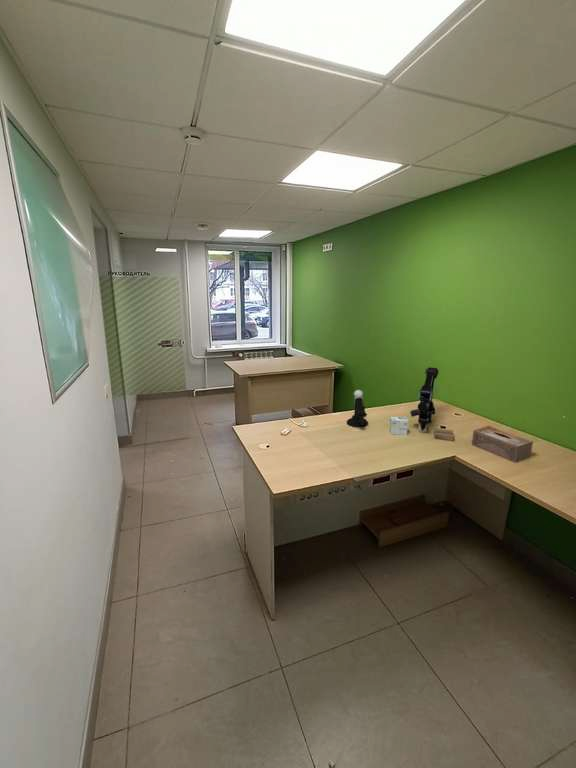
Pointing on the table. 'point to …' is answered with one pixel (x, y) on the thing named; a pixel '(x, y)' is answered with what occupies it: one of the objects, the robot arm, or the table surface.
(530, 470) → the table surface
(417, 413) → the robot arm
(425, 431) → the beige cube
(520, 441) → the tissue box cover
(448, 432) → the pedestal
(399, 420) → the light bulb box
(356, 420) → the sculpture
